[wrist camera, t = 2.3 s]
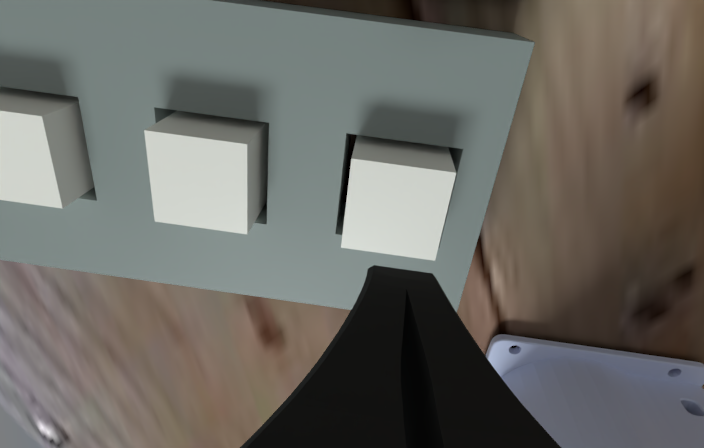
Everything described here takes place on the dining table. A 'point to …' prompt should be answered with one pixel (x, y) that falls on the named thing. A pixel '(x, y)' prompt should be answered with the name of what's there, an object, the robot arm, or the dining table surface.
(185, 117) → the button middle
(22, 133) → the button outer
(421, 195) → the button inner
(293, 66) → the button board
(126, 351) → the dining table surface
